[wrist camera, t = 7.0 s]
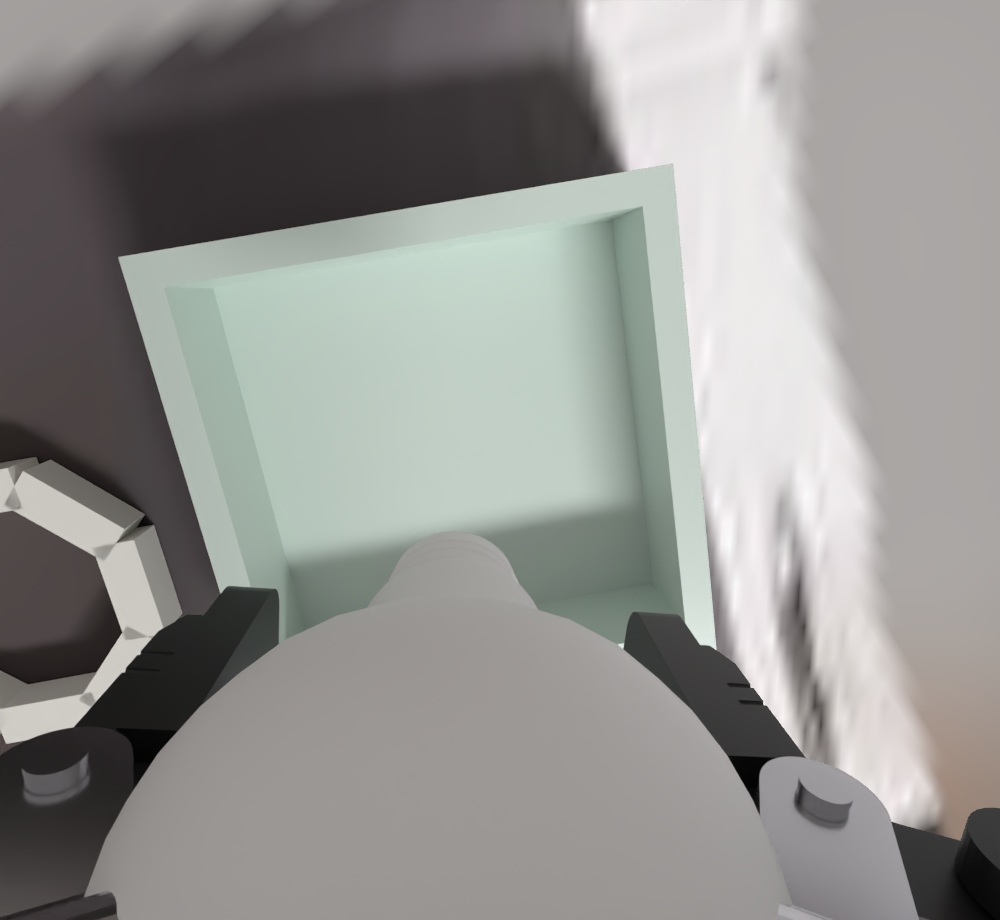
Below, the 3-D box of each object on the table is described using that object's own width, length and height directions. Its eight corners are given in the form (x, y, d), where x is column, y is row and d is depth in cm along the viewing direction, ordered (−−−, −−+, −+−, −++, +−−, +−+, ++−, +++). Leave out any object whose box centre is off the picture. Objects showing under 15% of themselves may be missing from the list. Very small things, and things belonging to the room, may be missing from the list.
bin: (674, 594, 27) (716, 651, 23) (294, 663, 27) (263, 735, 22) (632, 188, 23) (672, 163, 19) (182, 263, 23) (117, 257, 18)
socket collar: (205, 685, 27) (190, 709, 25) (-50, 732, 27) (-82, 759, 25) (126, 440, 24) (104, 451, 23) (-159, 490, 24) (-202, 504, 22)
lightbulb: (256, 492, 13) (-677, 1400, 2) (544, 387, 13) (957, 850, 2) (374, 737, 15) (135, 1954, 4) (633, 647, 14) (1129, 1664, 4)
